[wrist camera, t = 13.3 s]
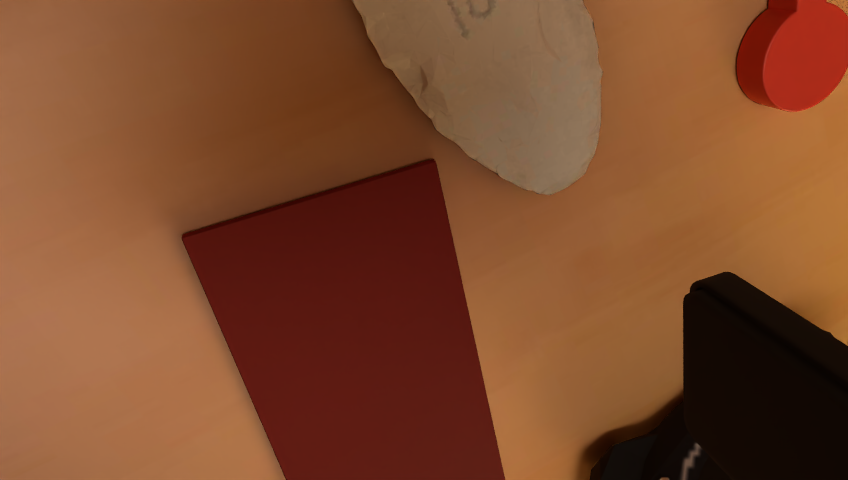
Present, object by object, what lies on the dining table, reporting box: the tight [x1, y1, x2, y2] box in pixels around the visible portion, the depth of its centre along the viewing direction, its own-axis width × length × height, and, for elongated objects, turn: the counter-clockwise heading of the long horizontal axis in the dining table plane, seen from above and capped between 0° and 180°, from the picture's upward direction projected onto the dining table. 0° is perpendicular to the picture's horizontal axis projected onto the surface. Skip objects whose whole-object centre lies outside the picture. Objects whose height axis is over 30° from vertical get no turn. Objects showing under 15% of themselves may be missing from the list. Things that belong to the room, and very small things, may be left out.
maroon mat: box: [182, 159, 505, 480], centre depth 29 cm, size 18×10×1 cm, turn 13°
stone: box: [352, 0, 603, 195], centre depth 23 cm, size 8×14×2 cm, turn 32°
